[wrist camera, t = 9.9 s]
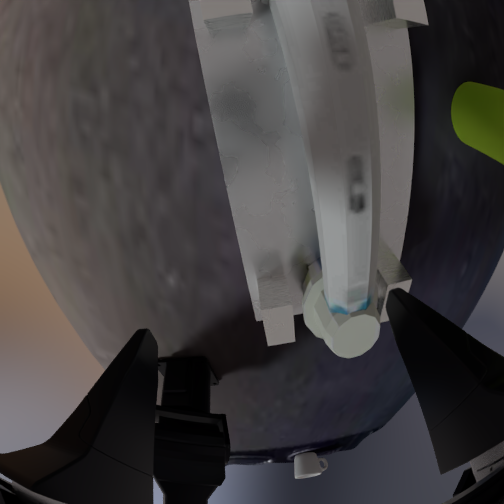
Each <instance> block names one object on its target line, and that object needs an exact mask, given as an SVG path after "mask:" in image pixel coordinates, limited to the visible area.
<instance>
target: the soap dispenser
mask: <svg viewBox="0 0 504 504" xmlns="http://www.w3.org/2000/svg"><path fill="white" fill-rule="evenodd" d="M451 118H452V123H453V127H454V130H455V132H456V134H457V136H458V137H459V139H460V140H461V141H462V142H463V143H465V144H467V145H469V146H471V147H473V148H475V149H477V150H479V151H480V152H482V153H484V154H486V155H488V156H490V157H491V158H493V159H495V160H497V161H498V162H500V163H502V164H503V165H504V90H502V89H499V88H495V87H491V86H488V85H484V84H479V83H475V82H465V83H463V84H461V85H460V86H459V87H458V88H457V90H456V92H455V94H454V96H453V100H452V105H451Z"/></svg>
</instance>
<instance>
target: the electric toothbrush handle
mask: <svg viewBox="0 0 504 504" xmlns="http://www.w3.org/2000/svg"><path fill="white" fill-rule="evenodd" d="M260 3H263V4H267V5H269V6H270V9H271V12H272V15H273V19H274V22H275V26H276V29H277V33H278V36H279V40H280V43H281V47H282V51H283V54H284V58H285V62H286V66H287V70H288V74H289V78H290V83H291V87H292V91H293V95H294V100H295V104H296V109H297V114H298V118H299V123H300V128H301V133H302V138H303V143H304V149H305V154H306V160H307V165H308V171H309V177H310V183H311V189H312V196H313V202H314V209H315V216H316V223H317V231H318V239H319V247H320V255H321V256H320V257H319V258H318V259H317V260H315V261H314V262H313V263H312V264H311V265H310V266H308V268H309V271H308V273H307V276H306V278H305V281H304V283H301V284H302V292H303V298H302V307H303V316H304V321H305V324H306V326H307V327H308V328H309V329H310V330H311V331H312V332H313V334H314V335H315V336H316V337H319V338H323V339H324V341H325V343H326V344H327V345H328V346H329V348H330V349H331V350H332V351H333V352H334V353H335V354H337V355H338V356H340V357H345V358H352V357H356V356H359V355H362V354H363V353H365V352H366V351H367V350H369V349H370V348H371V347H372V346H373V344H374V343H375V342H376V340H377V339H378V337H379V330H380V315H379V313H378V311H377V309H376V308H377V300H378V287H377V285H376V283H375V281H376V272H377V261H378V249H379V233H380V210H381V162H380V139H379V124H378V112H377V102H376V93H375V85H374V78H373V71H372V64H371V58H370V53H369V47H368V42H367V37H366V32H365V28H364V23H363V19H362V15H361V11H360V7H359V3H358V0H260Z"/></svg>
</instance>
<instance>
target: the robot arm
mask: <svg viewBox="0 0 504 504" xmlns="http://www.w3.org/2000/svg"><path fill="white" fill-rule="evenodd" d="M386 312H387V315H388V318H389V321H390V324H391V327H392V331H393V334H394V337H395V340H396V344H397V346H398V349H399V351H400V353H401V356H402V358H403V361H404V363H405V366H406V368H407V371H408V373H409V376H410V379H411V381H412V384H413V387H414V389H415V392H416V395H417V398H418V400H419V403H420V406H421V409H422V412H423V415H424V418H425V421H426V424H427V427H428V430H429V434H430V437H431V441H432V444H433V447H434V451H435V455H436V459H437V463H438V466H439V470H440V473H441V474H444V473H446V472H448V471H450V470H453V469H454V468H457V467H459V466H461V465H463V464H465V463H467V462H469V461H470V464H471V467H469V468H468V469H466V470H465V471H464V472H463V475H462V477H461V479H460V481H459V483H458V485H457V488H456V490H455V492H454V494H453V498H452V499H450V500H448V501H446V502H445V503H443V504H504V357H503V356H501V355H500V354H498V353H497V352H495V351H493V350H492V349H490V348H488V347H487V346H485V345H484V344H482V343H481V342H479V341H478V340H476V339H475V338H473V337H472V336H471V335H469V334H467V333H466V332H465V331H464V330H462V329H461V328H459V327H458V326H456V325H455V324H454V323H452V322H451V321H449V320H448V319H446V318H445V317H444V316H442V315H441V314H439V313H438V312H436V311H435V310H433V309H432V308H430V307H429V306H427V305H426V304H424V303H423V302H421V301H420V300H418V299H417V298H415V297H414V296H412V295H411V294H409V293H408V292H406V291H405V290H403V289H401V288H394V289H391V290H390V291H389V293H388V297H387V301H386ZM158 370H159V371H160V372H161V374H162V375H163V376H164V382H163V390H162V398H161V406H160V405H156V401H157V389H158ZM218 384H219V381H218V379H217V377H216V375H215V373H214V371H213V370H212V368H211V366H210V364H209V362H208V360H207V359H206V358H205V357H195V358H183V359H168V360H158V345H157V342H156V340H155V338H154V337H153V335H152V333H151V332H150V330H149V329H147V328H146V329H138V330H137V331H136V332H135V334H134V335H133V336H132V337H131V338H130V340H129V341H128V342H127V343H126V345H125V346H124V347H123V348H122V350H121V351H120V352H119V354H118V355H117V356H116V357H115V359H114V360H113V361H112V362H111V364H110V365H109V366H108V368H107V369H106V370H105V371H104V373H103V374H102V375H101V377H100V378H99V379H98V381H97V382H96V383H95V384H94V386H93V387H92V388H91V390H90V391H89V392H88V395H87V396H85V398H84V399H83V400H82V402H81V403H80V404H79V406H78V407H77V408H76V410H75V411H74V412H73V413H72V414H71V415H70V416H69V418H68V419H67V420H66V421H65V422H64V423H63V424H62V426H61V427H60V428H59V429H58V430H57V431H56V432H55V434H54V435H53V436H52V437H51V438H50V439H48V440H47V441H46V442H44V443H42V444H40V445H36V446H33V447H29V448H26V449H22V450H18V451H14V452H10V453H5V454H0V473H1V474H3V475H4V476H6V477H8V478H9V479H11V480H12V483H10V482H8V481H6V480H4V479H2V478H0V504H153V477H154V479H155V481H156V483H157V484H158V486H159V488H160V489H161V491H162V493H163V504H208V499H209V497H210V496H211V495H212V493H213V492H214V491H215V489H216V488H217V487H218V486H220V485H222V483H223V481H224V479H225V464H227V463H228V461H229V457H230V439H229V433H228V427H227V421H226V414H212V413H210V386H214V385H218ZM155 422H158V423H155Z"/></svg>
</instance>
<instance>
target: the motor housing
mask: <svg viewBox="0 0 504 504" xmlns="http://www.w3.org/2000/svg"><path fill="white" fill-rule="evenodd" d="M358 3H359V7H360V11H361V15H362V19H363V23H364V28H365V32H366V37H367V42H368V47H369V53H370V58H371V64H372V71H373V78H374V85H375V93H376V102H377V112H378V124H379V139H380V162H381V210H380V233H379V249H378V261H377V272H376V281H375V283H376V285H377V287H378V300H377V308H376V309H377V311H378V313H379V315H380V323H381V322H385V321H388V320H389V318H388V315H387V312H386V301H387V297H388V293H389V291H390V290H391V289H394V288H401V289H403V290H405V291H406V292H409V289H410V285H411V282H412V278H411V277H410V275H409V274H408V273H407V271H406V270H405V268H404V267H403V265H402V264H401V263H400V258H401V253H402V248H403V242H404V236H405V230H406V224H407V217H408V210H409V201H410V193H411V183H412V171H413V155H414V86H413V71H412V60H411V51H410V43H409V36H408V29H407V28H409V27H417V26H426V25H428V20H427V14H426V9H425V4H424V0H358ZM189 5H190V10H191V15H192V21H193V26H194V31H195V36H196V41H197V46H198V52H199V57H200V62H201V67H202V72H203V77H204V82H205V87H206V92H207V96H208V101H209V106H210V111H211V116H212V121H213V126H214V130H215V135H216V140H217V145H218V150H219V154H220V159H221V164H222V169H223V173H224V178H225V183H226V187H227V192H228V197H229V201H230V206H231V210H232V215H233V220H234V224H235V229H236V233H237V238H238V242H239V247H240V251H241V256H242V260H243V265H244V269H245V274H246V278H247V283H248V287H249V291H250V296H251V300H252V305H253V309H254V313H255V318H256V321H262V320H263V324H264V329H265V334H266V338H267V343H268V346H272V345H278V344H284V343H290V342H295V331H294V318H293V315H297V314H302V313H303V307H302V298H303V292H302V284H301V283H304V281H305V278H306V276H307V273H308V271H309V268H308V266H310V265H311V264H312V263H313V262H314V261H315V260H317V259H318V258H319V257H320V256H321V255H320V247H319V239H318V231H317V223H316V216H315V209H314V202H313V196H312V189H311V183H310V177H309V171H308V165H307V160H306V154H305V149H304V143H303V138H302V133H301V128H300V123H299V118H298V114H297V109H296V104H295V100H294V95H293V91H292V87H291V83H290V78H289V74H288V70H287V66H286V62H285V58H284V54H283V51H282V47H281V43H280V40H279V36H278V33H277V29H276V26H275V22H274V19H273V15H272V12H271V9H270V6H269V5H267V4H263V3H260V0H189Z"/></svg>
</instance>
